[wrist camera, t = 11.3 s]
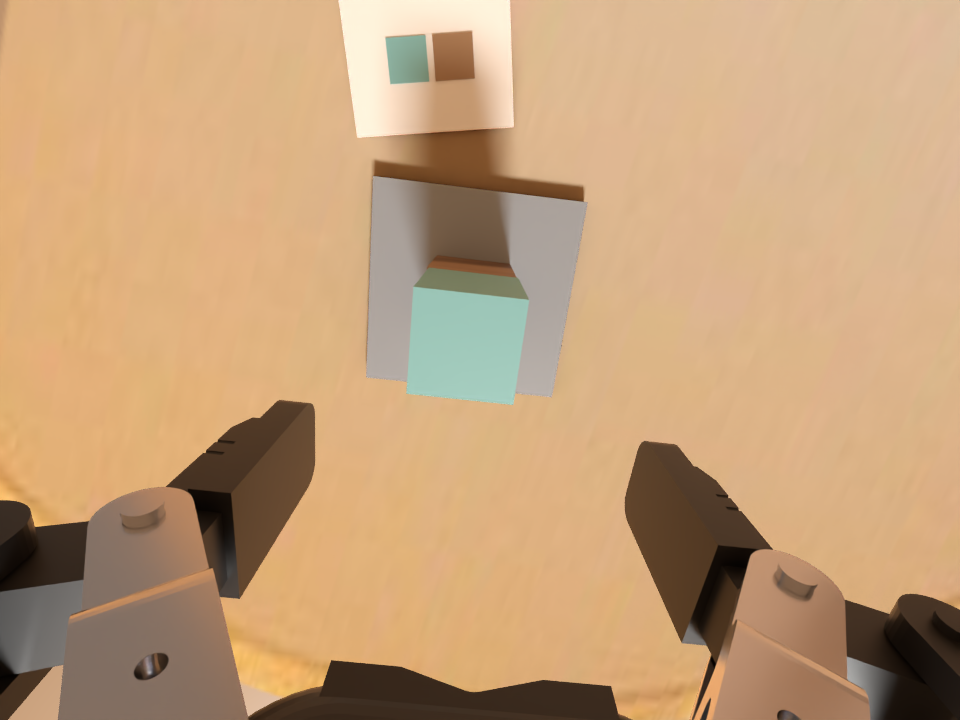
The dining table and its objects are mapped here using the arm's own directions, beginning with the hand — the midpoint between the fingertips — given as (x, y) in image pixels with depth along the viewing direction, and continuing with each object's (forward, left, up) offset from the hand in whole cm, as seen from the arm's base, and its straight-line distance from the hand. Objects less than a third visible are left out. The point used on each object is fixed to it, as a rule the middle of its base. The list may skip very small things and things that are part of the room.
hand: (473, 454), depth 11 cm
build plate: (0, -1, -22) cm, 22 cm away
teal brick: (0, -1, -16) cm, 15 cm away
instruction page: (-14, -5, -22) cm, 27 cm away
